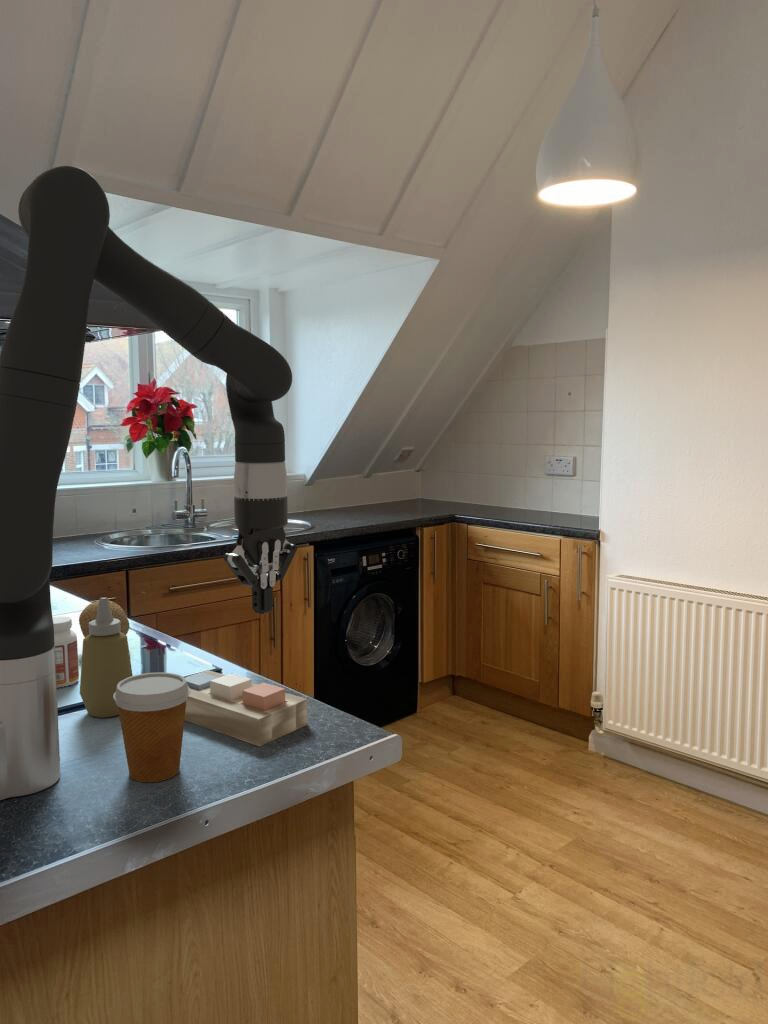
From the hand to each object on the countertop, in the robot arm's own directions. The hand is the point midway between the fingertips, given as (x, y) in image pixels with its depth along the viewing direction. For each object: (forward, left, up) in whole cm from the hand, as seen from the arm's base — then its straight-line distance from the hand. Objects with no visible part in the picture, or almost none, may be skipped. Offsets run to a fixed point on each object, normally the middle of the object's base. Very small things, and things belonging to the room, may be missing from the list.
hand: (262, 612), depth 120 cm
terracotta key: (0, 0, -15) cm, 15 cm away
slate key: (0, +14, -16) cm, 21 cm away
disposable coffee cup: (-19, +1, -18) cm, 26 cm away
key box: (0, +7, -18) cm, 19 cm away
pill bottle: (-7, +42, -18) cm, 46 cm away
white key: (0, +7, -15) cm, 17 cm away
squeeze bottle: (-10, +24, -18) cm, 32 cm away
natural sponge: (+9, +52, -18) cm, 56 cm away
